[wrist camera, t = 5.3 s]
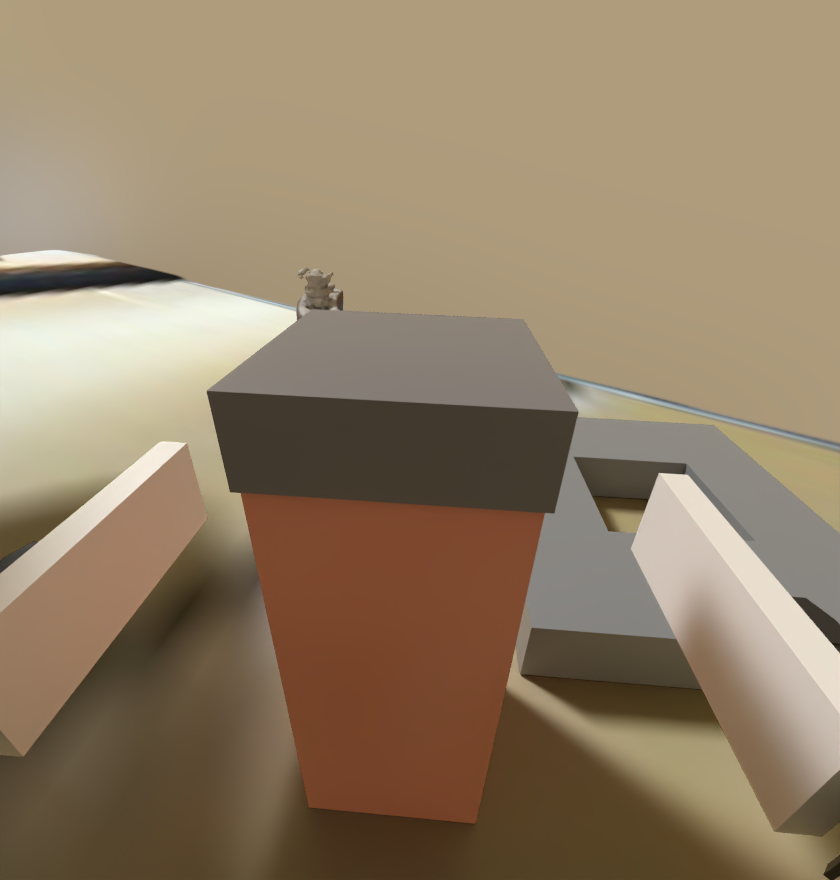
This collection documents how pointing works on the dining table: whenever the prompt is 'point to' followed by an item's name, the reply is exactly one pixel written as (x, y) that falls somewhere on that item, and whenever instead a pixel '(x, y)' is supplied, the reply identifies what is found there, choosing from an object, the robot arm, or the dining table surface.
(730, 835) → the dining table surface
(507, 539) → the plug
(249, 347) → the dining table surface
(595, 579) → the socket plate
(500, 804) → the dining table surface
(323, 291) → the flask
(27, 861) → the dining table surface
